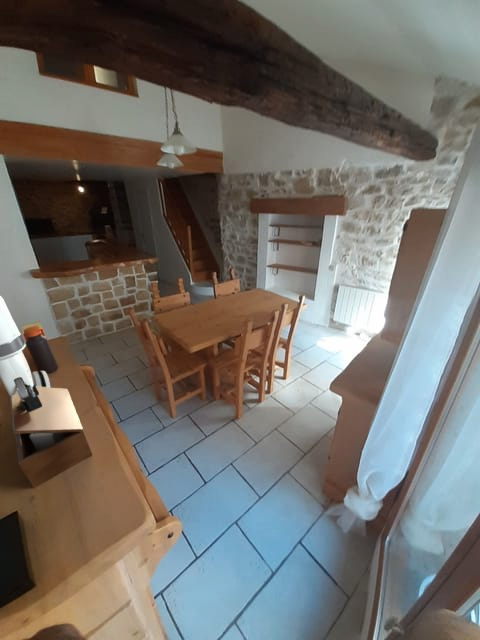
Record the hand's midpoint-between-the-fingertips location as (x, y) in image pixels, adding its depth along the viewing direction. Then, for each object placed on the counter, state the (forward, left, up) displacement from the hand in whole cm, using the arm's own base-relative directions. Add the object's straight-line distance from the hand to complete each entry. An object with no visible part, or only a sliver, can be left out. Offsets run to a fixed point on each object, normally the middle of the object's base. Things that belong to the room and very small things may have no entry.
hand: (33, 402), depth 67 cm
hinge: (-24, +13, -18) cm, 32 cm away
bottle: (-37, +25, -18) cm, 48 cm away
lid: (+1, +1, -3) cm, 4 cm away
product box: (0, 0, -17) cm, 17 cm away
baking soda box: (-48, +31, -18) cm, 60 cm away
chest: (0, +1, -18) cm, 18 cm away
